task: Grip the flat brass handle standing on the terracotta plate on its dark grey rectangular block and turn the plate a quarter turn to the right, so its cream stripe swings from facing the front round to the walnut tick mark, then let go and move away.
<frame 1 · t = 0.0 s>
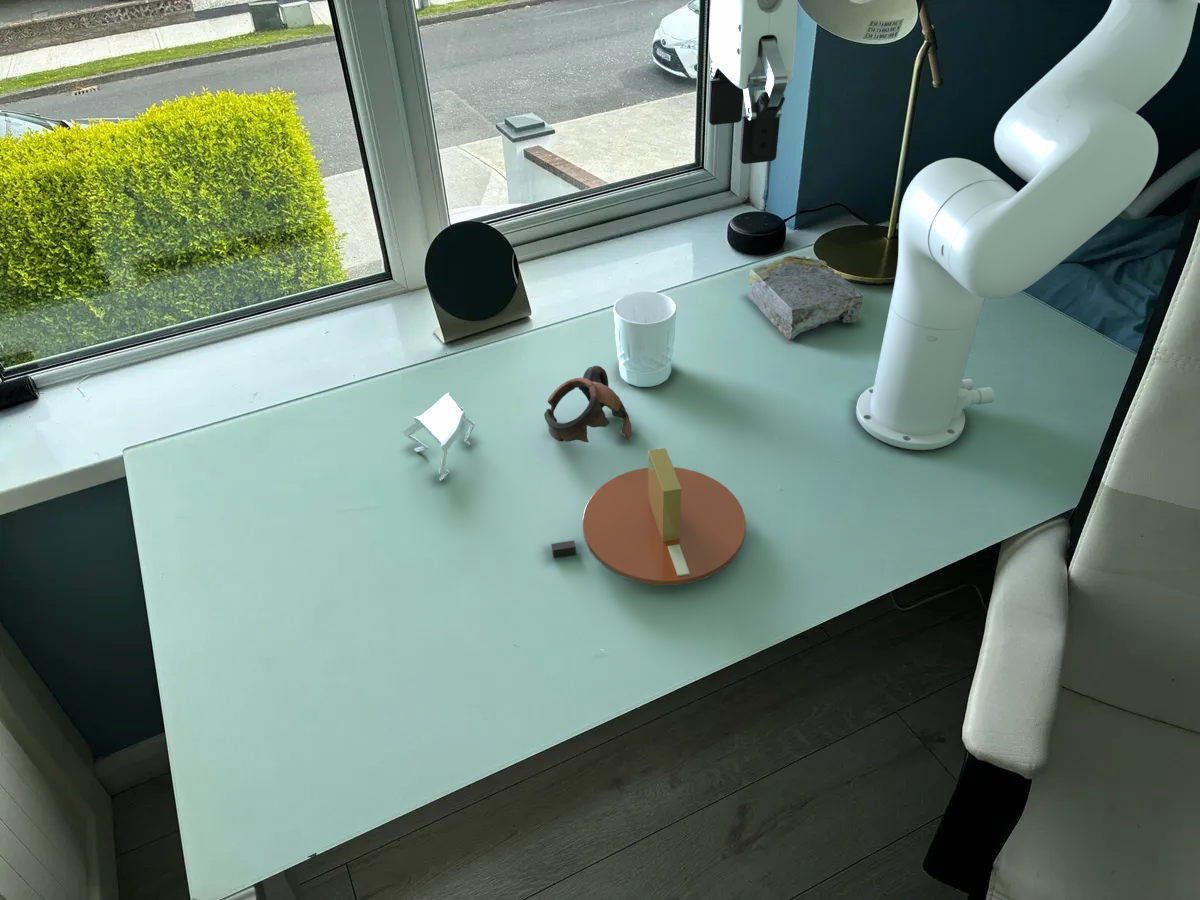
hand: (740, 141, 83), 37 cm above the table, tool pointing down, fingers open, 9 cm apart
white cup: (645, 374, 119), on the table
dark grey rectangular block: (663, 537, 96), on the table
origami figure: (445, 456, 107), on the table
pottery mug: (592, 429, 110), on the table
geological specimen: (798, 311, 130), on the table
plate: (664, 497, 92), point 6 cm above the table, hinge at 0.0°
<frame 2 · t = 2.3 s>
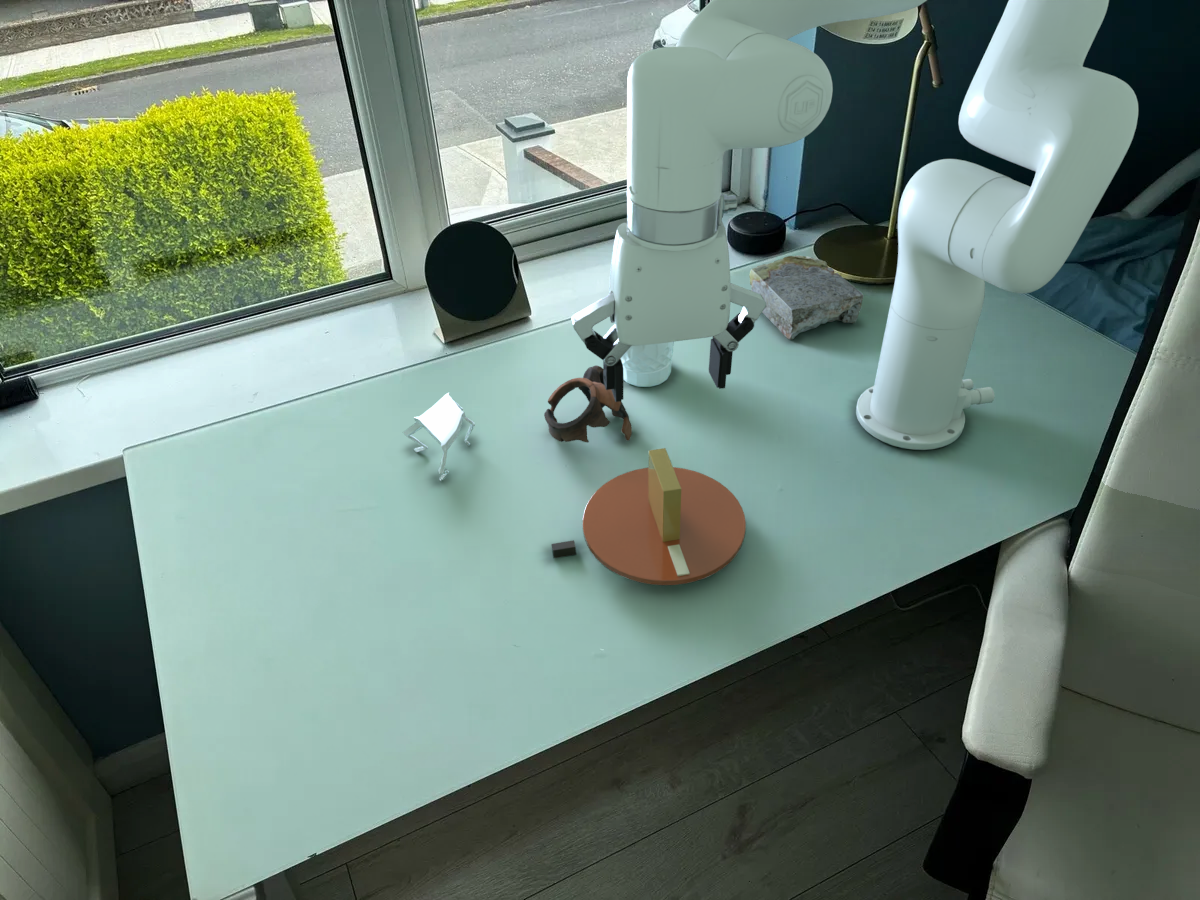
hand: (666, 386, 84), 19 cm above the table, tool pointing down, fingers open, 9 cm apart
nothing on the table moved.
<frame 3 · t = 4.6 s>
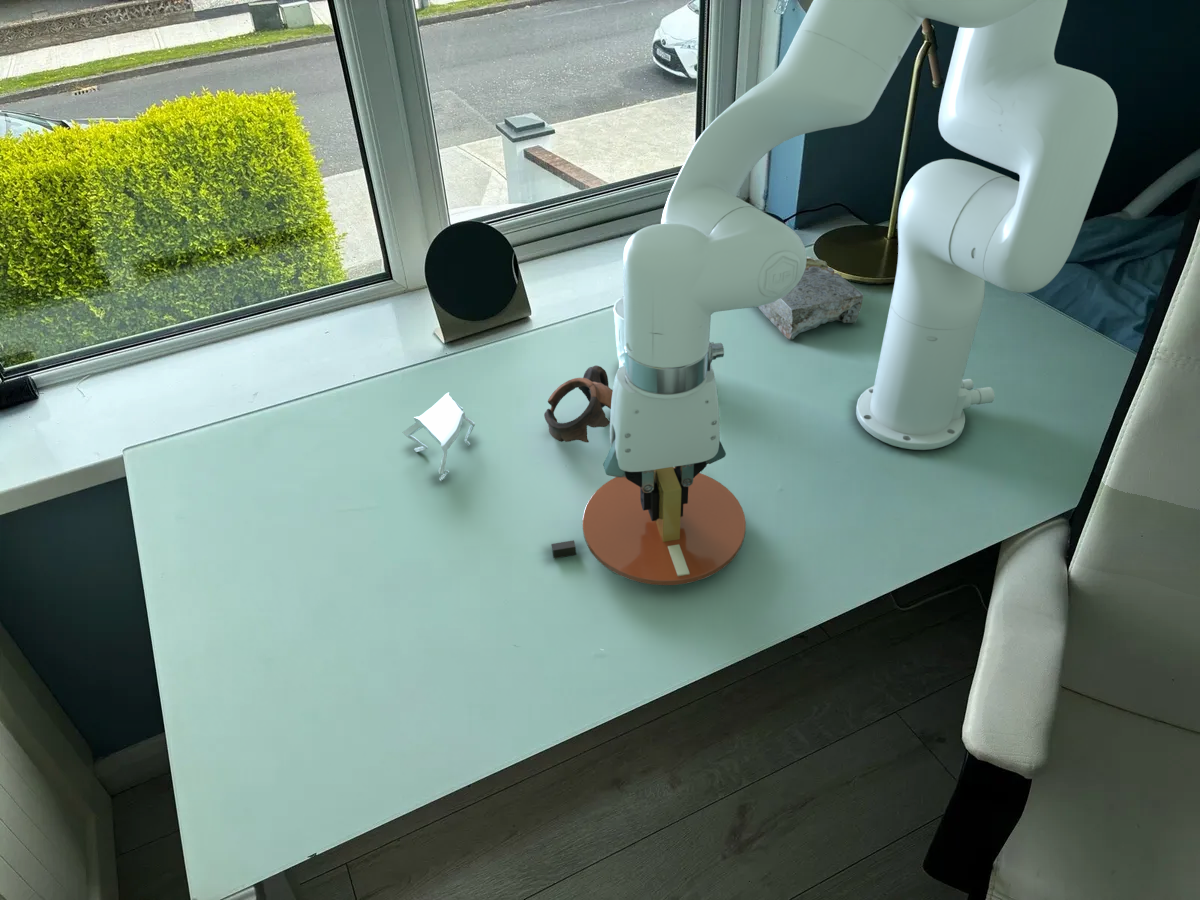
hand: (663, 508, 93), 4 cm above the table, tool pointing down, fingers closed on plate, 2 cm apart
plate: (664, 497, 92), point 6 cm above the table, hinge at 0.0°, touching gripper
everything else where it was.
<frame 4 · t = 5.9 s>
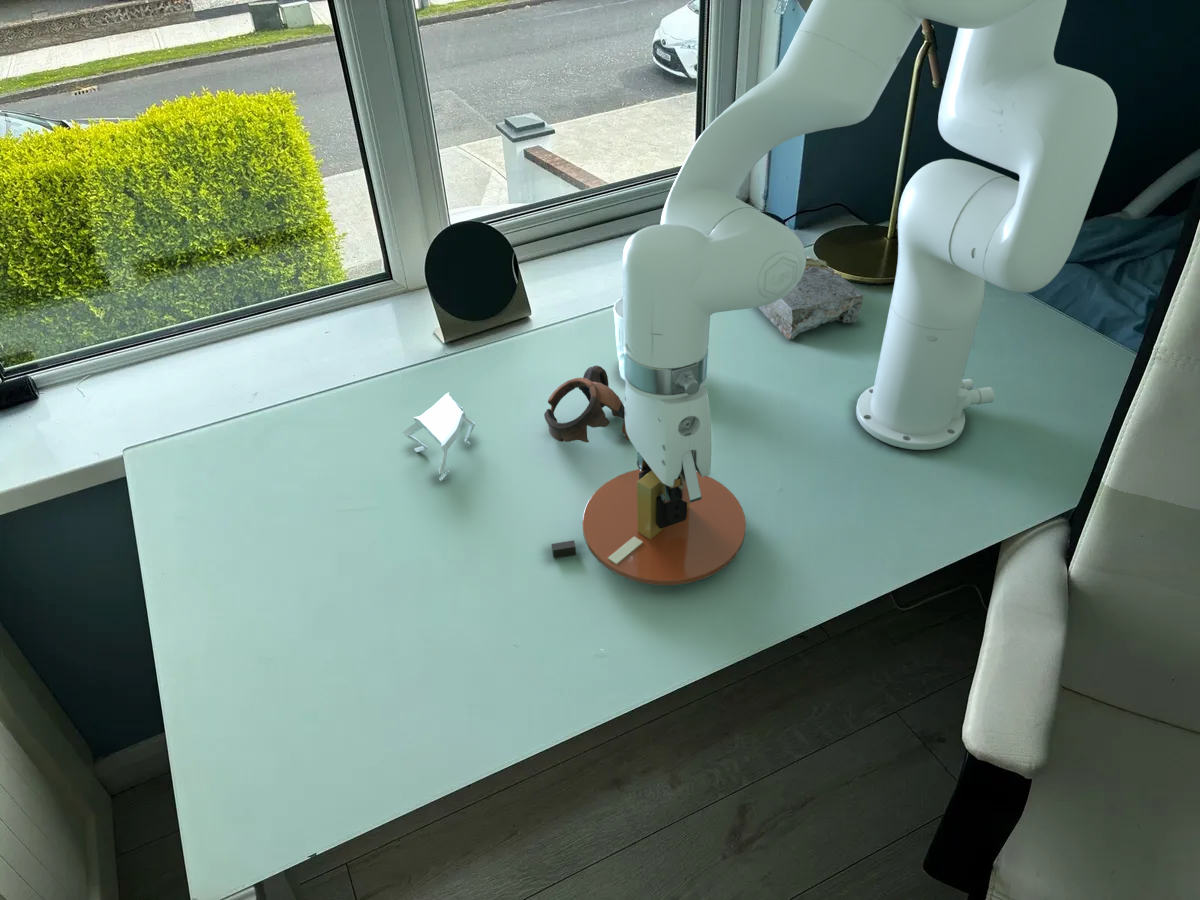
hand: (662, 509, 93), 4 cm above the table, tool pointing down, fingers closed on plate, 3 cm apart
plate: (664, 497, 92), point 6 cm above the table, hinge at -54.0°, touching gripper
everything else where it was.
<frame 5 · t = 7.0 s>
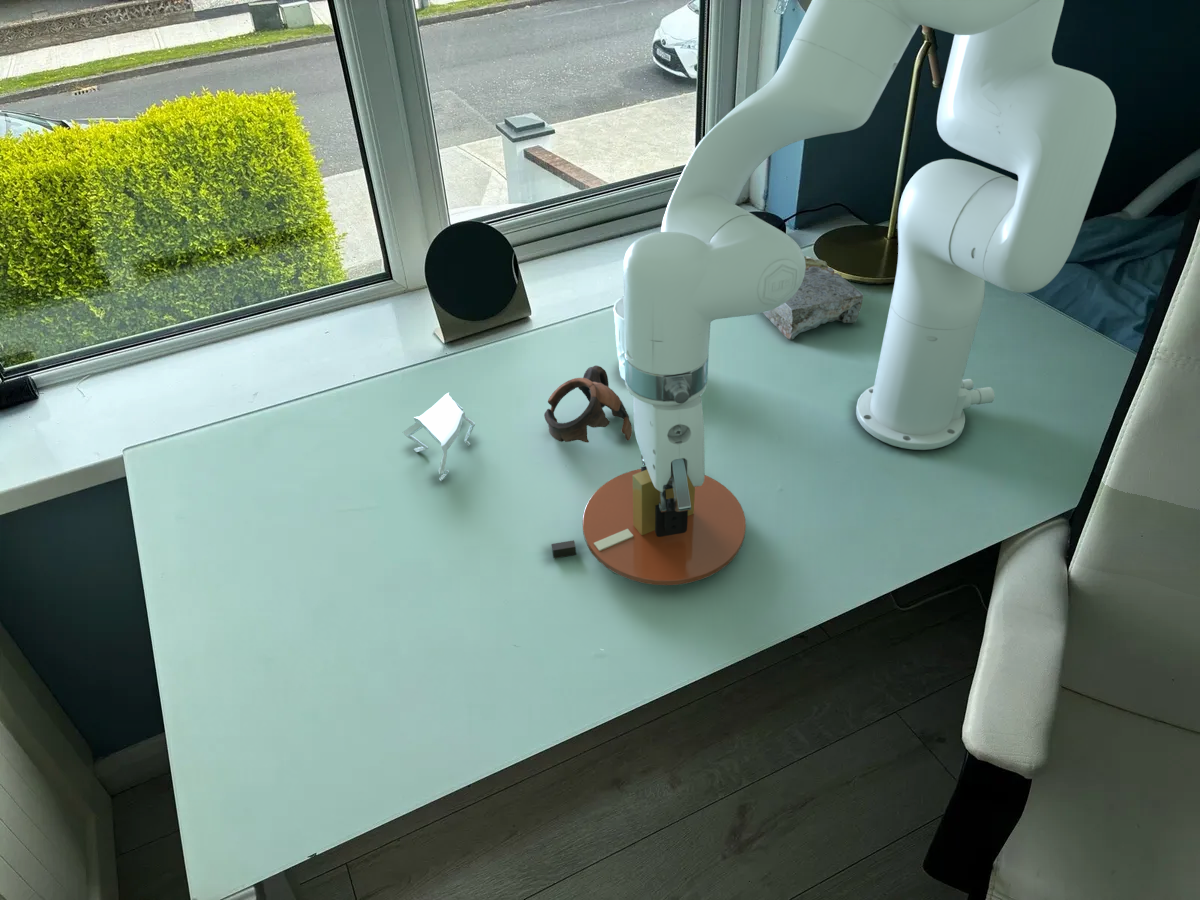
hand: (663, 512, 93), 4 cm above the table, tool pointing down, fingers open, 5 cm apart
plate: (664, 497, 92), point 6 cm above the table, hinge at -72.1°
everything else where it was.
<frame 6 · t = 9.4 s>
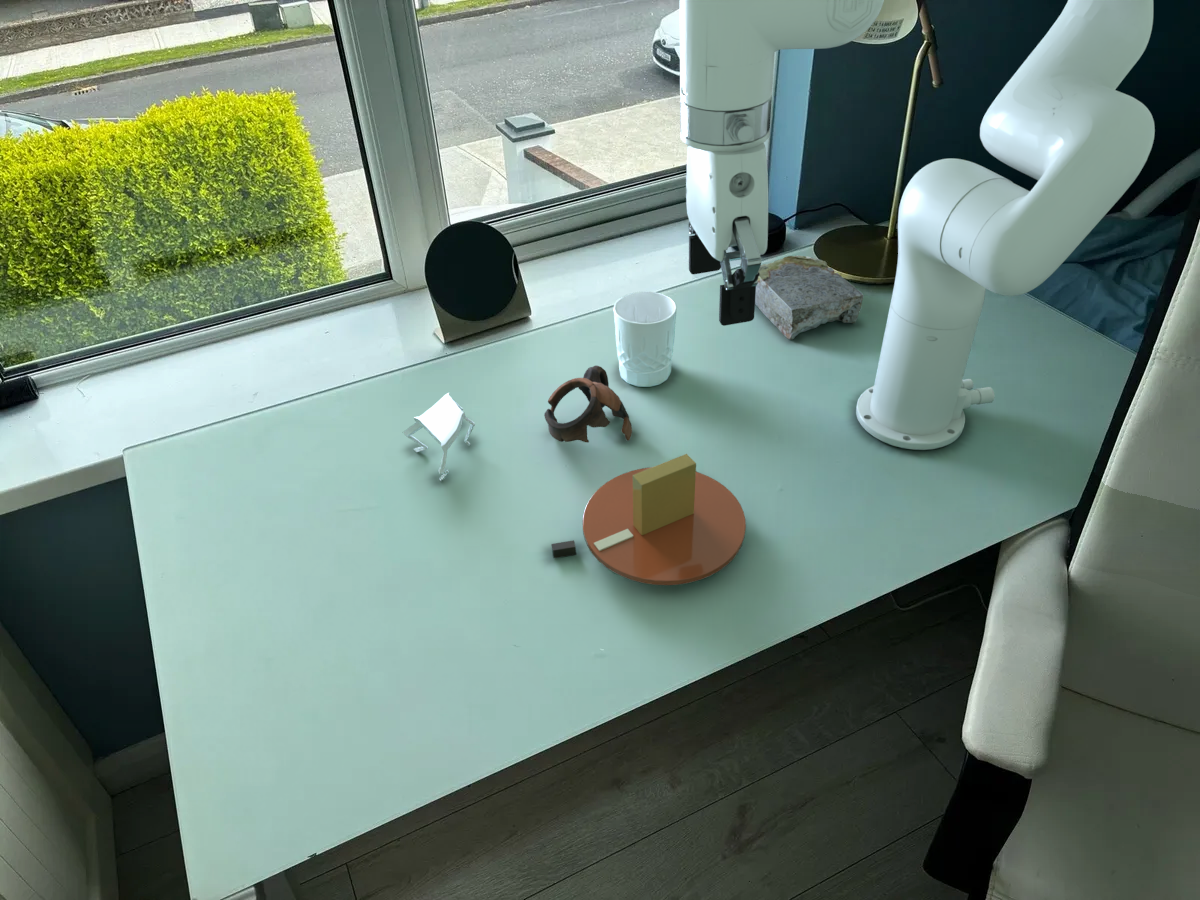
hand: (720, 295, 86), 24 cm above the table, tool pointing down, fingers open, 9 cm apart
nothing on the table moved.
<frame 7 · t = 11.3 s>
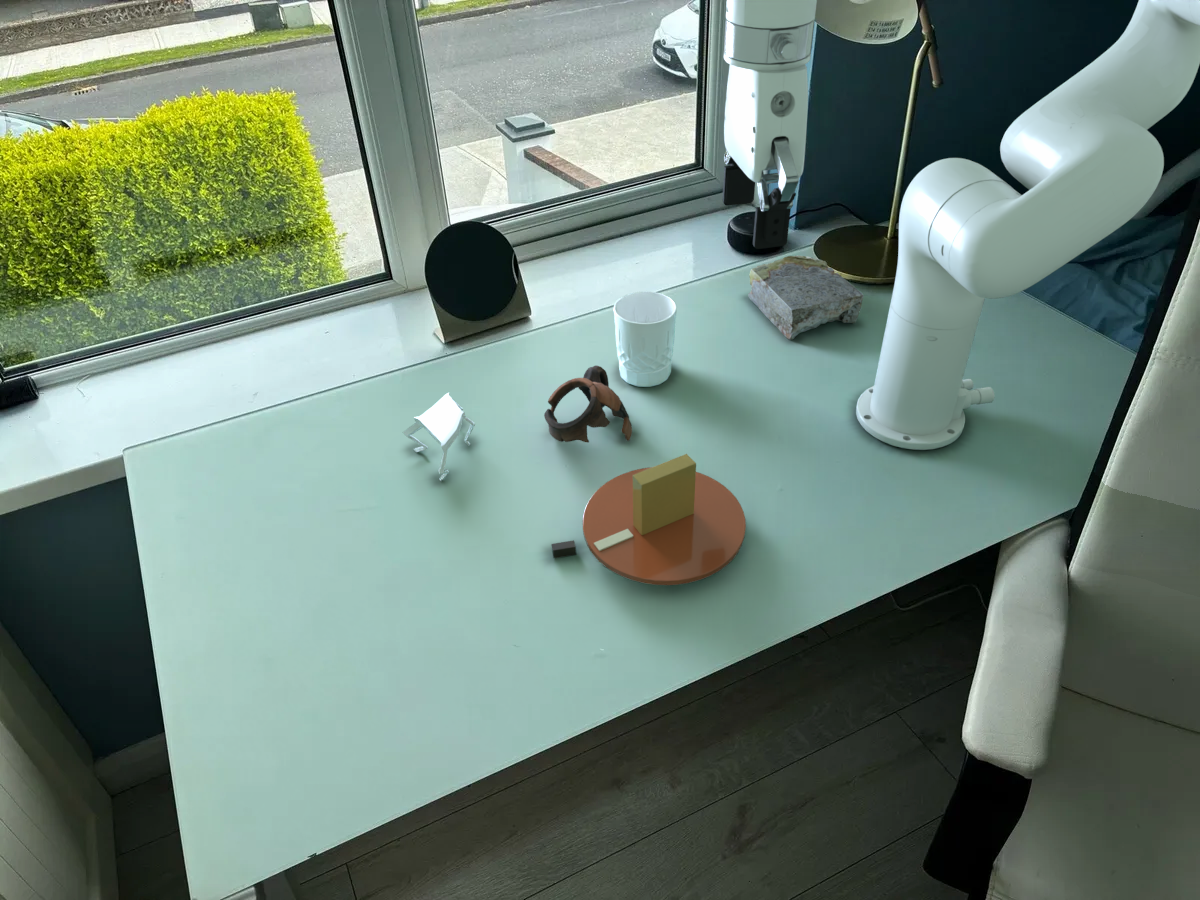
hand: (753, 223, 89), 28 cm above the table, tool pointing down, fingers open, 9 cm apart
nothing on the table moved.
at the end: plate at -72° (first picture: +0°); the gripper is holding nothing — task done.
